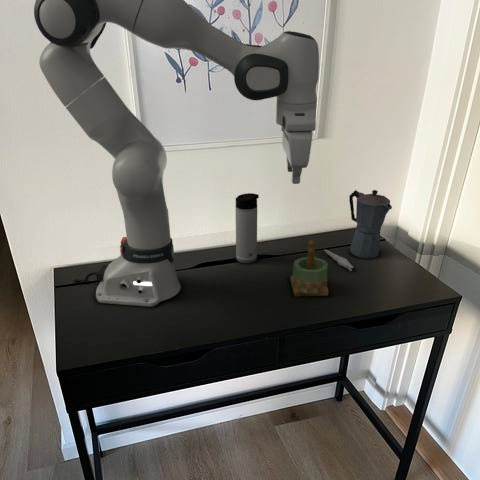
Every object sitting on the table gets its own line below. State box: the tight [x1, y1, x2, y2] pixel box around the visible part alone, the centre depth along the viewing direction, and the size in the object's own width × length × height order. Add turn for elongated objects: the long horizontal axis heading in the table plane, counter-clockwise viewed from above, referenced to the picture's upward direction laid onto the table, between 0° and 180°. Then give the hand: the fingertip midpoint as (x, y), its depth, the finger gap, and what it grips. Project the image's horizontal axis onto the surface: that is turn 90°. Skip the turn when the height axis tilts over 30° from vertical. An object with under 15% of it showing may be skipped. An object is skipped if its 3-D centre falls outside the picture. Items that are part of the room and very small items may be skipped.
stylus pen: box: [323, 248, 355, 272], centre depth 154 cm, size 15×3×2 cm, turn 25°
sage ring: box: [292, 256, 329, 282], centre depth 137 cm, size 9×9×3 cm
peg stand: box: [289, 239, 330, 297], centre depth 137 cm, size 9×9×14 cm
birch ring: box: [292, 269, 329, 294], centre depth 137 cm, size 9×9×3 cm
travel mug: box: [234, 192, 260, 264], centre depth 151 cm, size 6×7×20 cm
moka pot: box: [348, 189, 393, 260], centre depth 154 cm, size 10×15×20 cm, turn 42°
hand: (293, 176), depth 122 cm, fingers open, 8 cm apart
